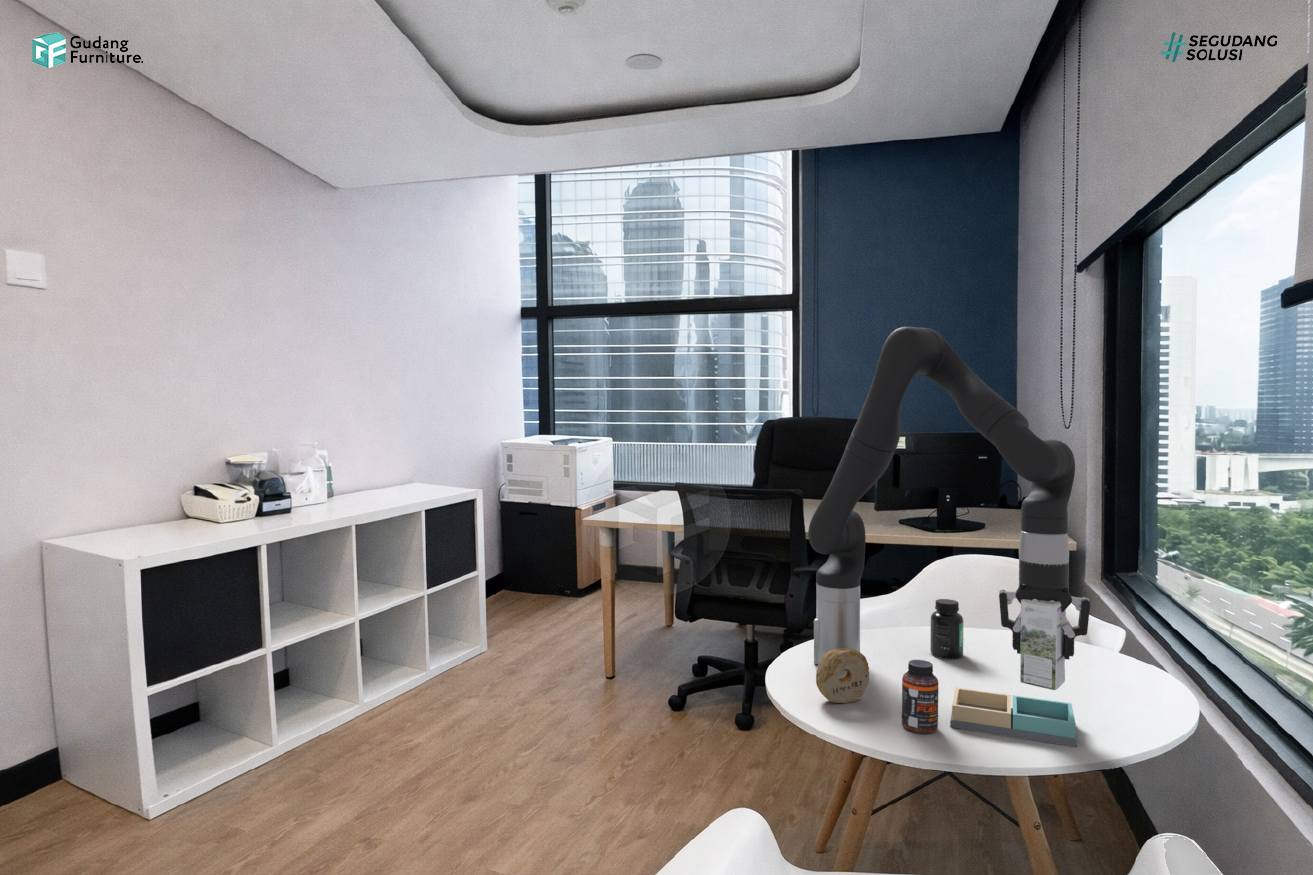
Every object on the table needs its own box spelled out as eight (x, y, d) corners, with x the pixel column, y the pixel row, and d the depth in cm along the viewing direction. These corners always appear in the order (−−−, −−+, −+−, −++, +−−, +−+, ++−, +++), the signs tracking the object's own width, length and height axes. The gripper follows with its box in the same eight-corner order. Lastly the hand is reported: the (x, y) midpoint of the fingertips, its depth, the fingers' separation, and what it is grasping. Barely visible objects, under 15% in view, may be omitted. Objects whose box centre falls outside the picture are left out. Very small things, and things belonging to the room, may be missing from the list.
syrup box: (1065, 682, 129) (1066, 597, 128) (1055, 691, 125) (1056, 604, 124) (1030, 674, 133) (1030, 592, 132) (1019, 683, 129) (1019, 598, 128)
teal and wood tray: (950, 726, 131) (950, 705, 130) (954, 706, 140) (954, 686, 139) (1077, 747, 122) (1077, 724, 122) (1072, 723, 131) (1072, 702, 131)
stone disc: (861, 694, 146) (861, 642, 146) (871, 701, 142) (871, 648, 142) (812, 700, 143) (812, 647, 143) (821, 707, 140) (821, 654, 139)
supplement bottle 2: (969, 658, 166) (970, 604, 166) (942, 660, 165) (942, 606, 164) (950, 648, 173) (951, 596, 172) (924, 651, 171) (924, 598, 171)
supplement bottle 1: (918, 737, 127) (918, 670, 126) (894, 724, 132) (894, 660, 132) (945, 731, 129) (946, 665, 128) (920, 718, 134) (921, 655, 134)
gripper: (996, 558, 128) (996, 656, 128) (1094, 565, 122) (1093, 668, 122) (997, 551, 134) (996, 643, 135) (1090, 557, 128) (1089, 654, 129)
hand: (1042, 654), depth 129 cm, fingers closed on syrup box, 6 cm apart
